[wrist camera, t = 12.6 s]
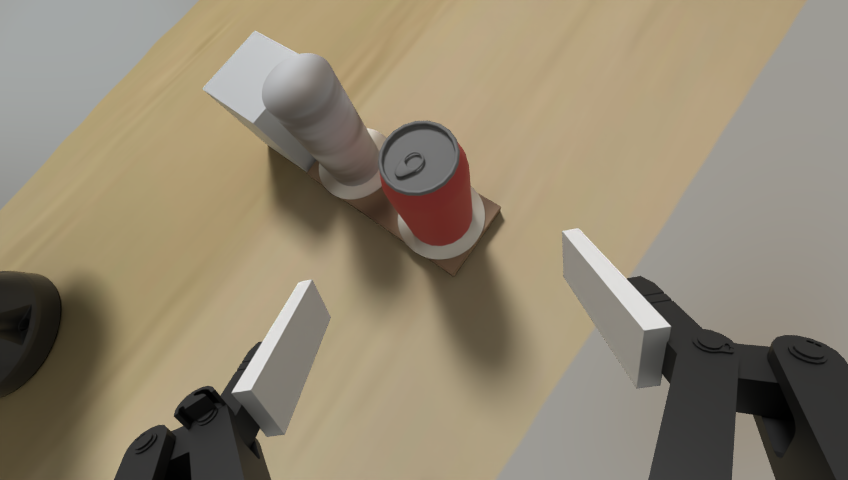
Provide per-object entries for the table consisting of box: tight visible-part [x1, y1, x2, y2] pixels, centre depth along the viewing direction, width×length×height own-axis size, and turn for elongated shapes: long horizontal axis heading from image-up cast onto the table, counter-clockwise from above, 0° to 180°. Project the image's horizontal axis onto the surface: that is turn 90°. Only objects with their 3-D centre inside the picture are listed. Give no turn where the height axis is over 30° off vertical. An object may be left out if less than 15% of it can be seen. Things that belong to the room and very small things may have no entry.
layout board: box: [262, 53, 501, 276], centre depth 29 cm, size 21×9×13 cm, turn 53°
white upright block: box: [202, 31, 317, 172], centre depth 35 cm, size 8×8×10 cm
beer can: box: [378, 121, 473, 246], centre depth 26 cm, size 7×7×12 cm
